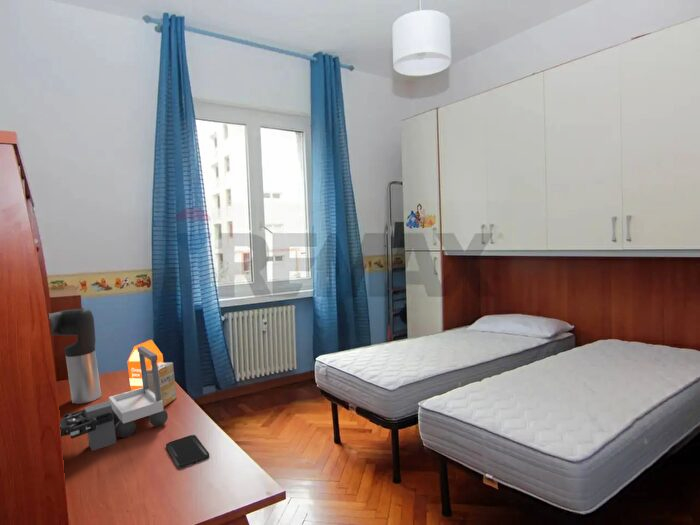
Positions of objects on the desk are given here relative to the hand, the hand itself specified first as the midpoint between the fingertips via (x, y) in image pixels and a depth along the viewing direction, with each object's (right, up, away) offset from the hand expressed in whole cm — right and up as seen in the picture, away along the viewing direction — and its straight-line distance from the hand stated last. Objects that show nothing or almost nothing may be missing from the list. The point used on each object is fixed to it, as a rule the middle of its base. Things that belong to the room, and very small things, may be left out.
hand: (109, 413), depth 123 cm
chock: (-1, -8, -1) cm, 8 cm away
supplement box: (+4, -6, +26) cm, 27 cm away
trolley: (+3, -7, +10) cm, 13 cm away
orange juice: (-3, -6, +32) cm, 33 cm away
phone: (+25, -7, -9) cm, 28 cm away
